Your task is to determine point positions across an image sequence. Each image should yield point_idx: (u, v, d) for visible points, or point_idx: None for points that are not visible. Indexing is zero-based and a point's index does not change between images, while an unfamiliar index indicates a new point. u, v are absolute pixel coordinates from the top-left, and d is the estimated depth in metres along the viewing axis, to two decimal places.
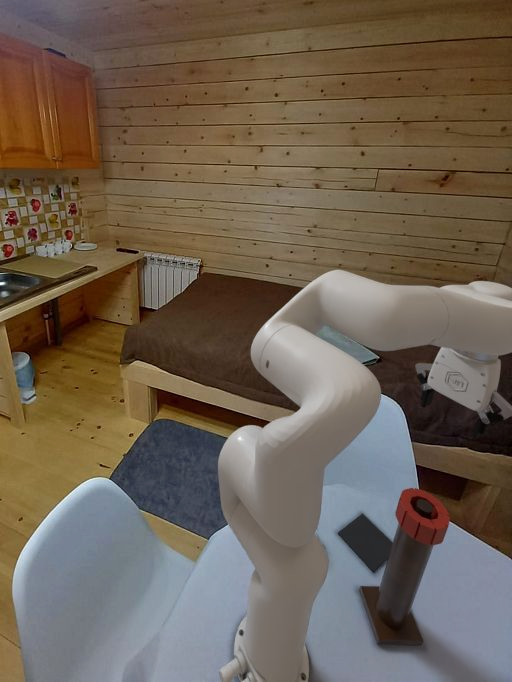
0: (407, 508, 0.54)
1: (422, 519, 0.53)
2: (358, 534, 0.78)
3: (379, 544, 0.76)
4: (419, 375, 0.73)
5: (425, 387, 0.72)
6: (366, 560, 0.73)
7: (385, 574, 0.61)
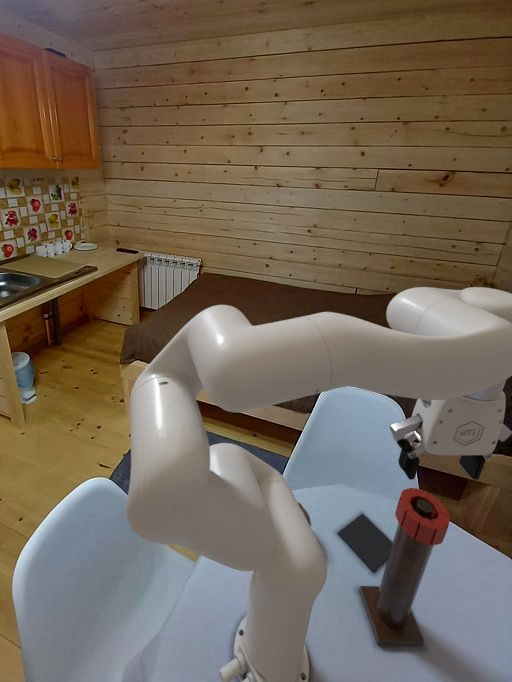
0: (407, 508, 0.54)
1: (422, 519, 0.53)
2: (358, 534, 0.78)
3: (379, 544, 0.76)
4: (402, 443, 0.49)
5: (414, 454, 0.49)
6: (366, 560, 0.73)
7: (385, 574, 0.61)
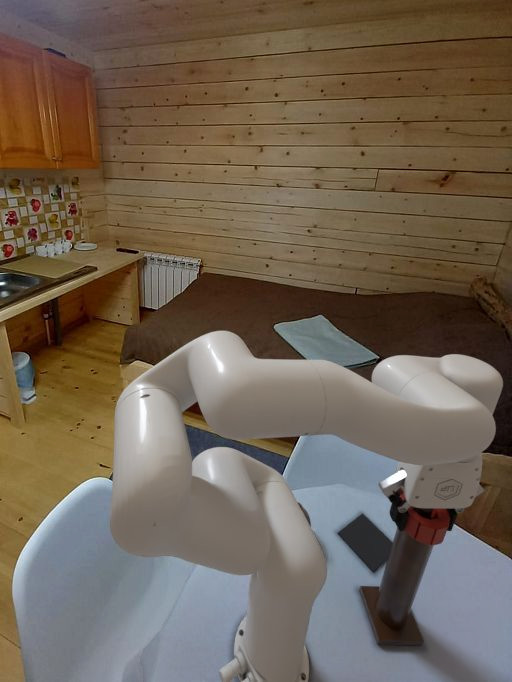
0: None
1: (423, 519, 0.53)
2: (358, 534, 0.78)
3: (379, 544, 0.76)
4: (393, 498, 0.53)
5: (404, 509, 0.53)
6: (366, 560, 0.73)
7: (385, 574, 0.61)
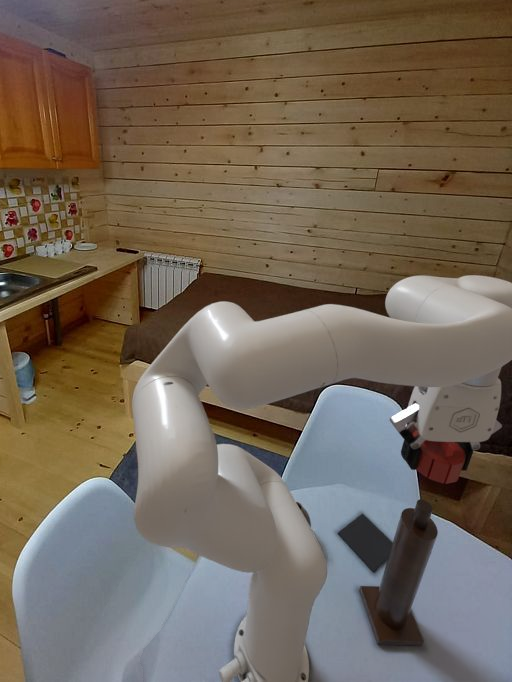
0: (420, 446, 0.52)
1: (436, 456, 0.50)
2: (358, 534, 0.78)
3: (379, 544, 0.76)
4: (405, 433, 0.50)
5: (416, 445, 0.50)
6: (366, 560, 0.73)
7: (385, 574, 0.61)
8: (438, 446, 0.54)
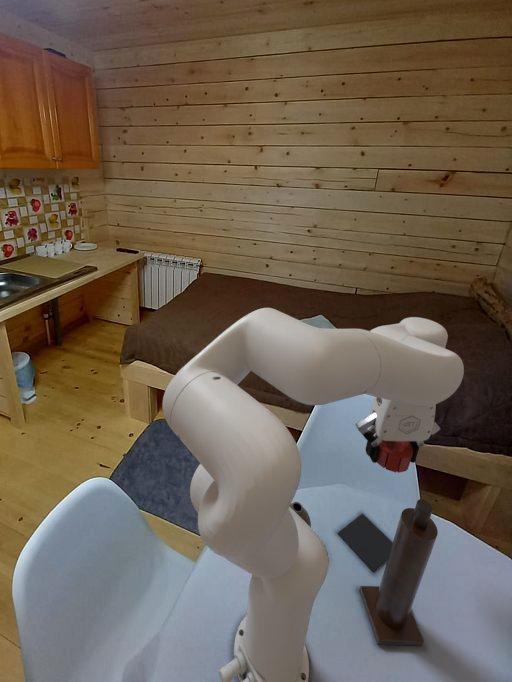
0: (379, 444, 0.67)
1: (391, 452, 0.66)
2: (358, 534, 0.78)
3: (379, 544, 0.76)
4: (367, 435, 0.66)
5: (375, 443, 0.66)
6: (366, 560, 0.73)
7: (385, 574, 0.61)
8: (394, 444, 0.70)
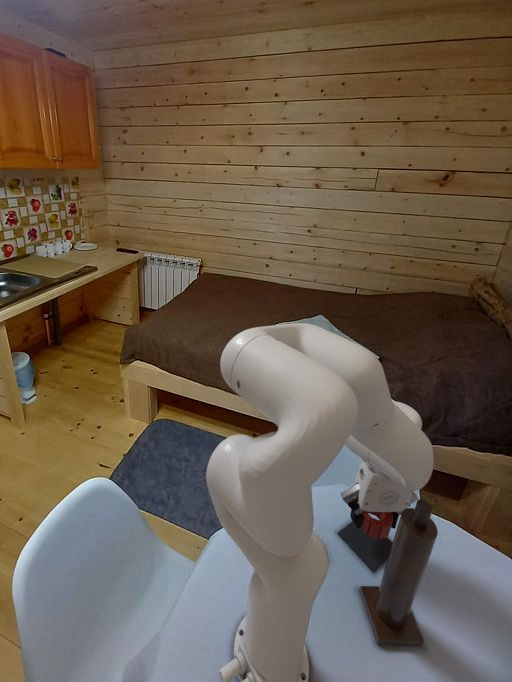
0: None
1: (373, 520, 0.72)
2: (358, 534, 0.78)
3: (379, 544, 0.76)
4: (351, 504, 0.72)
5: (359, 512, 0.72)
6: (366, 560, 0.73)
7: (385, 574, 0.61)
8: None
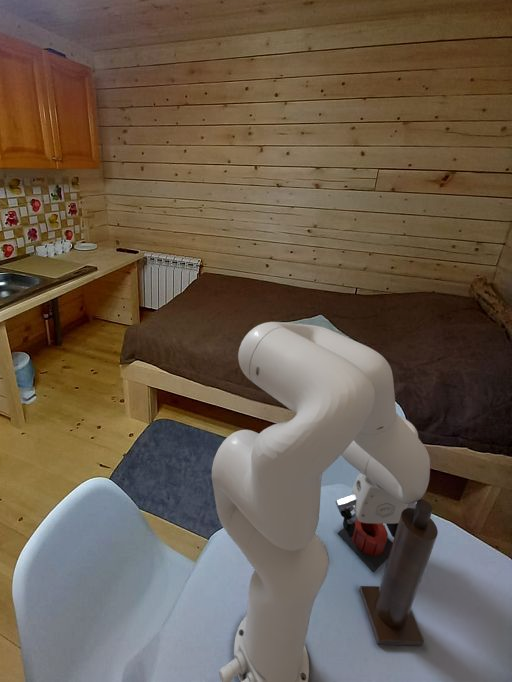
0: (358, 528, 0.75)
1: (368, 537, 0.74)
2: None
3: None
4: (343, 513, 0.72)
5: (351, 521, 0.73)
6: (366, 560, 0.73)
7: (385, 574, 0.61)
8: (372, 526, 0.78)
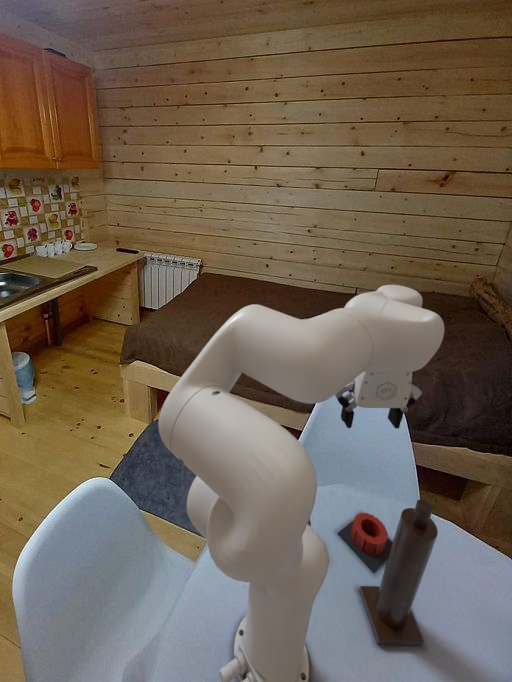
0: (358, 528, 0.75)
1: (368, 537, 0.74)
2: None
3: None
4: (341, 400, 0.67)
5: (350, 408, 0.67)
6: (366, 560, 0.73)
7: (385, 574, 0.61)
8: (372, 526, 0.78)
